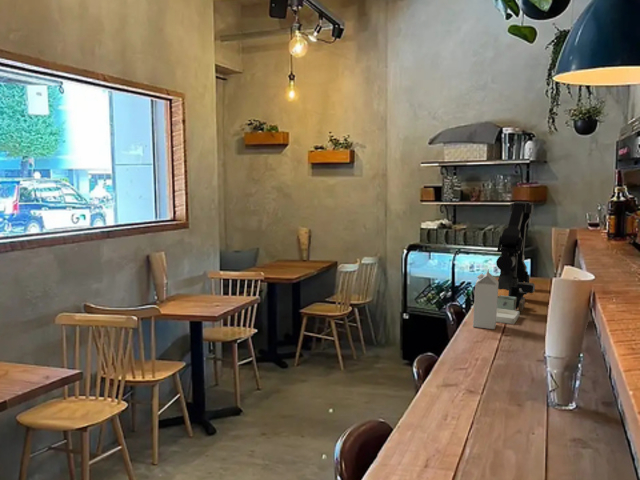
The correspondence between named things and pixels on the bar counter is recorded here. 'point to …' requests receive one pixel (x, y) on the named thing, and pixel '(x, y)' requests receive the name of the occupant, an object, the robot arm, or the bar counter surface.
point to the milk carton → (485, 301)
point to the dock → (521, 304)
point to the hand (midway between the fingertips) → (506, 307)
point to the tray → (507, 316)
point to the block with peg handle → (506, 302)
